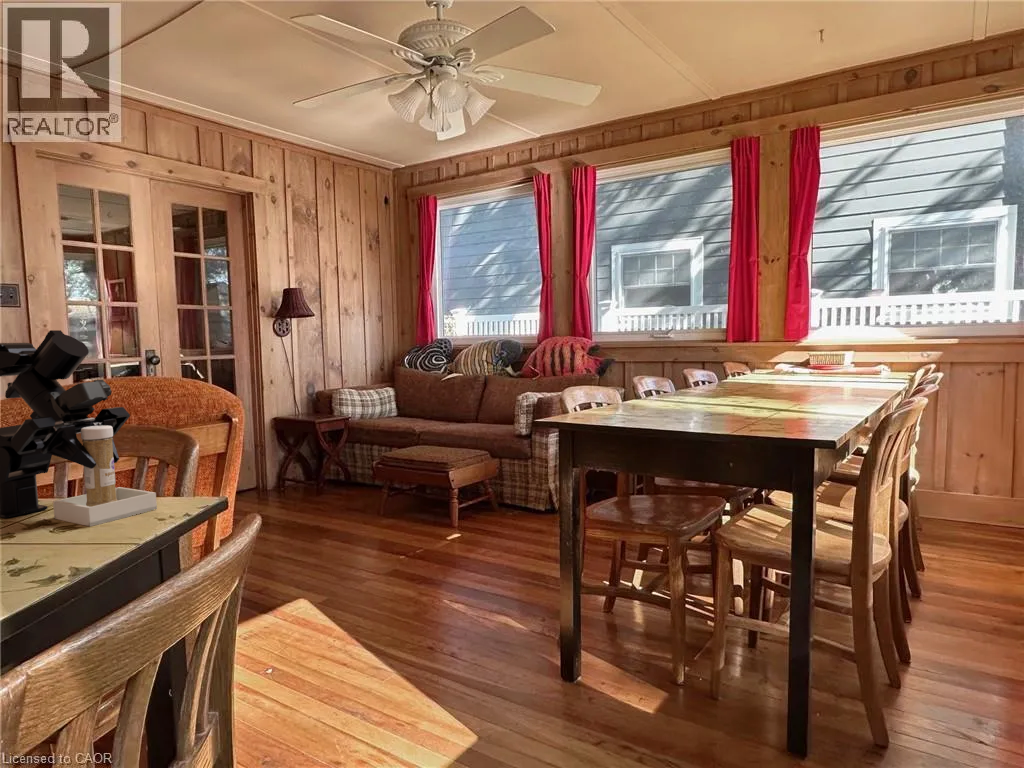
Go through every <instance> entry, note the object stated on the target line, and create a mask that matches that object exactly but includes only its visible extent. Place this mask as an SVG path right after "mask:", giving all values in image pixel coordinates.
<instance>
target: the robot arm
mask: <svg viewBox="0 0 1024 768" xmlns="http://www.w3.org/2000/svg"><path fill="white" fill-rule="evenodd" d="M88 354H89V348H88V347H87V345H86V344H85V343H84V342H82V341H80V340H79V339H77V338H75V337H73V336H71V335H67V334H64V332H63V331H62V330H54V329H53V330H52V329H50V330H49V331H48V332H47V334H46V335H45V336H44V339H43V340H42V342H40V344H39V345H38V347H37V348H36V347H35V346H34V345H33V343H30V342H0V377H13V376H15V378H14V380H13V381H12V382H8V383H7V387H6V388H7V389H6V390H5V393H4V395H5V396H4V398H6V399H19V398H20V399H22V400H23V401H24V402H25V403H26V404H27V406H28V407H29V408H30V409H31V411H32V412H31V414H30V415H29V417H30V418H26V419H25V420H24V421H23V422H22V424H16V425H11V426H3V427H0V517H1V518H3V519H4V518H5V519H7V518H12V517H17V516H21V515H26V514H30V513H34V512H39V511H44V510H47V509H48V505H43V504H40V503H39V498H38V497H39V496H38V495H39V494H38V485H37V483H38V482H37V475H41V474H46V473H47V474H48V472H49V469H50V464H51V460H52V457H53V456H55V457H57V458H61V459H64V460H67V461H70V462H72V463H74V464H78V465H81V466H83V467H84V466H85V467H88V468H90V469H92V468H94V467H95V466H96V463H95V461H94V459H93V458H92V456H91V455H90V454H89V453H88V451H87V450H86V449H85V448H84V446H83V443H81V441H80V440H79V439H78V437H77V435H79V434H81V429H82V428H84V427H90V426H101V425H105V426H112V427H113V437H114V436H116V434H117V433H119V431H120V429H121V428H122V427H123V426H124V424H125V423H126V422H127V421H128V419H129V418H130V417H131V414H130V413H129V412H128V410H126V408H125V407H123V406H115V407H108V408H102V409H101V410H100V411H99V412H98V414H97V415H96V416H94V417H89V415H91V414H93V412H94V411H95V409H96V408H94V406H95V405H97V404H99V403H101V402H102V401H104V402H105V401H106V400H108V399H109V396H111V395H112V388H111V386H110V385H109V384H108V382H106V381H105V380H104V379H95V380H94V379H93V381H91V382H90V381H89V382H80V383H77V384H75V385H73V386H71V387H70V388H68V389H65V388H64V387H63V386H62V384H61V383H60V382H59V381H58V380H67V379H69V378H71V376H72V375H73V373H74V372H75V371H76V370H77V368H79V366H80V365H81V363H82V362H83V361H84V360H85V359H86V357H87V356H88ZM113 437H112V438H113ZM112 445H113V458H114V464H117V463H118V462H119V460H120V457H119V454H118V449H117V448H116V444H115V442H114V438H113V439H112Z"/></svg>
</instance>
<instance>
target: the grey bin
mask: <svg viewBox="0 0 1024 768" xmlns="http://www.w3.org/2000/svg"><path fill="white" fill-rule="evenodd" d="M115 489H116V498H117V501H114V502H109V503H105V504H101V505H96V506H92V507H89V506H86V502H87V496H86V493H85V494H81V495H76V496H71V497H67V498H62V499H57V500H53V501H52V503H53V515H54V517H53V518H54V520H59V521H63V522H67V523H68V522H69V523H73V524H77V525H82V526H86V527H93V526H97V525H101V524H105V523H110V522H113V521H117V520H121V519H126V518H128V517H129V518H130V517H132V515H133V516H137V515H140V513H141V514H144V512H145V513H148V512H147V511H149V512H151V510H153V511H155V510H154V509H157V510H158V506H157V505H158V504H157V492H153V491H148V490H141V489H134V488H131V487H130V488H129V487H122V486H118V487H115ZM136 514H137V515H136Z"/></svg>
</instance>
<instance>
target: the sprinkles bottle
mask: <svg viewBox="0 0 1024 768" xmlns="http://www.w3.org/2000/svg"><path fill="white" fill-rule="evenodd" d="M112 437H114V436H113V427H112V426H105V425H101V426H90V427H84V428H82V429H81V433H80V438H81V439H80V440H81V442H82V445H83V446H84V448H85V449H86V450H87V451H88V453H89V454H90V455H91V456H92V458H93V459H94V461H95V463H96V466H95V467H94V468H92V469H90V468H88V467H85V466H83V472H84V473H83V474H84V475H83V476H84V487H85V491H86V493H85V494H86V496H87V502H86V506H89V507H92V506H96V505H101V504H105V503H109V502H114V501H117V498H116V489H115V488H116V472H115V469H116V468H115V463H114V458H113V445H112V439H113V440H114V438H112Z"/></svg>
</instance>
